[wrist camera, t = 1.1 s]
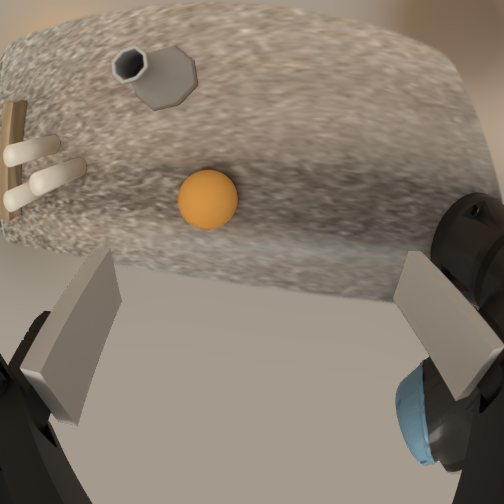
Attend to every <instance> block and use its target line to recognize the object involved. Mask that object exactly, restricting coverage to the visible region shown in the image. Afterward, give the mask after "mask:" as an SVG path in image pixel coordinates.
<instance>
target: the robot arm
mask: <svg viewBox="0 0 504 504" xmlns="http://www.w3.org/2000/svg"><path fill="white" fill-rule="evenodd" d="M393 300H394V302H395V303H396V305H397V306H398V307H399V309H400V310H401V312H402V313H403V315H404V316H405V318H406V319H407V321H408V323H409V324H410V325H411V327H412V329H413V330H414V332H415V333H416V335H417V336H418V338H419V340H420V341H421V343H422V344H423V346H424V347H425V349H426V351H427V352H428V354H429V357H428V358H427V359H425V360H423V361H422V362H421V363H420V365H419V366H418V367H417V368H416V369H415V370H414V371H413V372H411V373H410V374H409V375H408V376H407V377H406V378H405V379H404V380H403V381H402V382H401V383H400V385H399V386H398V389H397V392H396V401H395V403H396V412H397V418H398V421H399V425H400V429H401V431H402V434H403V437H404V439H405V442H406V444H407V446H408V447H409V450H410V452H411V453H412V455H413V456H414V457H415V459H416V460H417V461H420V463H421V464H422V465H430V464H435V463H436V462H437V461H438V460H439V461H440V462H441V463H442V465H443V466H444V468H445V470H446V471H447V472H448V473H450V474H461V477H460V480H459V483H458V487H457V490H456V493H455V496H454V500H453V503H452V504H504V205H503V204H502V203H501V202H500V201H499V200H497V199H495V198H493V197H491V196H489V195H487V194H484V193H473V194H469V195H467V196H465V197H463V198H461V199H460V200H459V201H457V202H456V203H455V204H454V205H453V206H452V207H451V208H450V209H449V210H448V212H447V213H446V214H445V216H444V217H443V219H442V221H441V223H440V225H439V227H438V229H437V231H436V234H435V237H434V240H433V245H432V251H431V261H430V260H429V259H428V258H427V257H426V256H425V255H424V254H423V253H422V252H421V251H408V254H407V257H406V261H405V264H404V267H403V270H402V273H401V276H400V279H399V282H398V285H397V288H396V290H395V293H394V296H393ZM121 301H122V300H121V296H120V292H119V287H118V283H117V279H116V274H115V269H114V264H113V259H112V253H111V248H94V249H93V251H92V252H91V253H90V255H89V256H88V258H87V259H86V260H85V262H84V263H83V264H82V266H81V267H80V269H79V270H78V272H77V273H76V274H75V276H74V278H73V279H72V280H71V282H70V283H69V285H68V286H67V288H66V289H65V291H64V292H63V294H62V295H61V297H60V299H59V300H58V302H57V303H56V305H55V306H54V308H53V310H52V311H44V312H43V313H42V314H41V315H39V316H38V317H37V318H36V319H35V320H34V322H33V323H32V325H31V327H30V328H29V332H27V333H26V335H25V337H24V340H22V341H21V343H20V345H19V347H18V348H17V350H16V352H15V354H14V356H13V357H12V359H11V361H10V363H9V365H7V364H6V362H5V360H4V359H3V357H2V356H1V354H0V504H92V502H91V501H90V499H89V498H88V496H87V494H86V492H85V491H84V489H83V487H82V486H81V484H80V482H79V480H78V479H77V477H76V475H75V473H74V471H73V469H72V468H71V466H70V464H69V462H68V460H67V458H66V456H65V454H64V452H63V450H62V448H61V445H60V443H59V441H58V439H57V437H56V434H55V432H54V430H53V428H52V425H51V424H50V422H49V421H48V419H49V416H50V413H52V414H53V416H54V417H55V418H56V419H57V420H58V422H62V423H66V424H70V425H75V426H78V423H79V419H80V416H81V413H82V409H83V406H84V403H85V399H86V396H87V393H88V390H89V387H90V384H91V381H92V378H93V375H94V372H95V369H96V366H97V364H98V361H99V358H100V355H101V352H102V350H103V347H104V344H105V341H106V339H107V336H108V334H109V331H110V329H111V326H112V324H113V321H114V318H115V316H116V314H117V311H118V309H119V306H120V304H121ZM468 301H469V302H471V303H473V304H476V305H477V306H478V307H479V308H480V309H479V310H477V309H476V308H474V307H473V306H472V305H471V304H470V303H469V302H468Z"/></svg>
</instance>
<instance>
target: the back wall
mask: <svg viewBox="0 0 504 504" xmlns="http://www.w3.org/2000/svg"><path fill="white" fill-rule="evenodd" d="M26 107H27V102H11V103H4V106H3V114H2V124H1V135H0V214H1V219H4V220H7V221H10V220H12V219H14V218H15V217H17V216H19V215H21V214H22V207H21V208H19V209H17V210H15V211H13V212H9V211H8V210H7V209H6V208H5V206H4V203H3V196H4V194H5V192H6V191H8V190H11V189H13V188H15V187H17V186H20V185H21V164H19V165H16V166H13V167H7V166H6V165H5V163H4V160H3V152H4V149H5V148H6V146H8V145H11V144H15V143H19V142H23V133H24V123H25V115H26Z"/></svg>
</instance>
